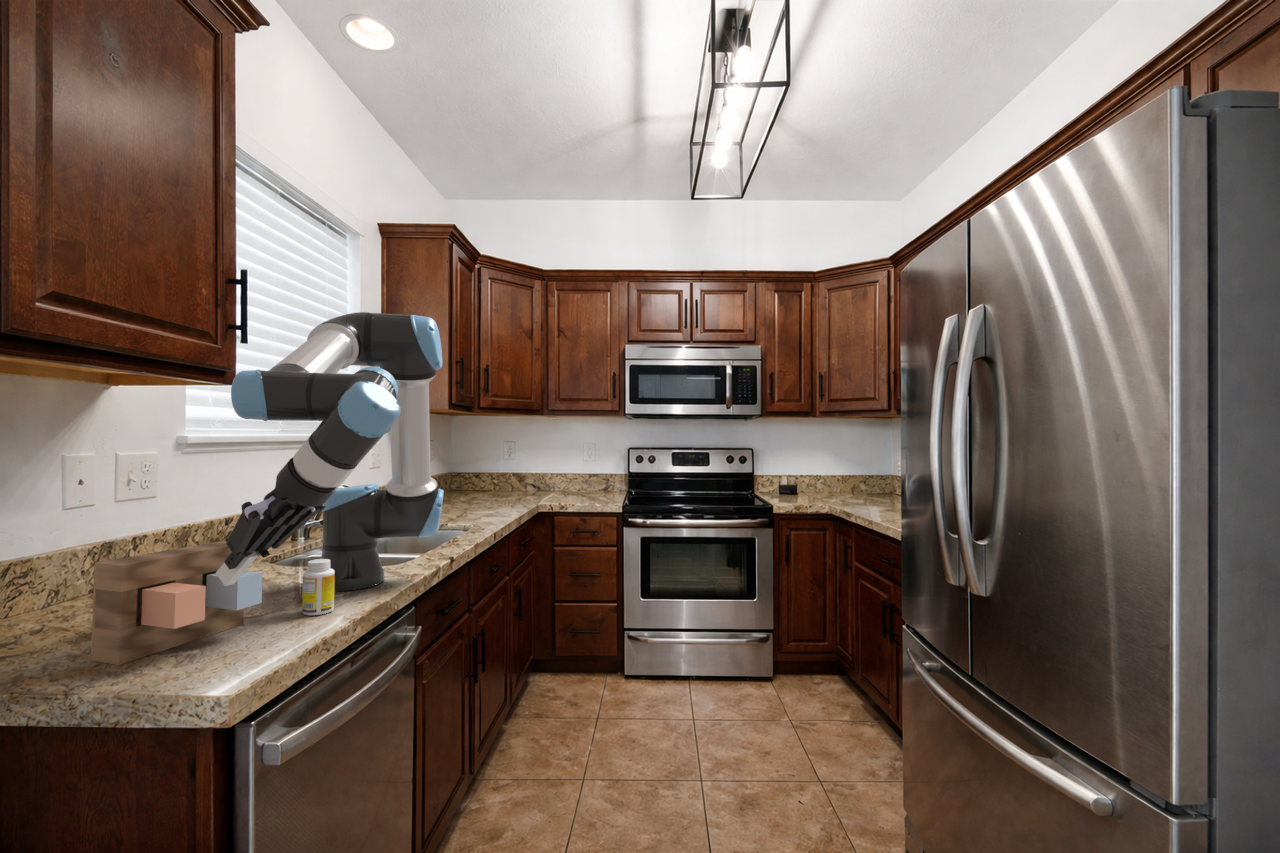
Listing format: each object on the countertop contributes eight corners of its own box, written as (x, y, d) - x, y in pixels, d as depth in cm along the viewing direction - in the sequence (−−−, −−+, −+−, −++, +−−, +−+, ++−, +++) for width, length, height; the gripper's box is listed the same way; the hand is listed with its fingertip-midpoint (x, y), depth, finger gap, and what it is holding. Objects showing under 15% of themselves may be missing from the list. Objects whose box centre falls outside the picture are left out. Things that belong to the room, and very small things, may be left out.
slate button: (231, 599, 102) (232, 569, 103) (261, 602, 101) (262, 572, 101) (205, 606, 98) (206, 575, 98) (236, 610, 96) (237, 578, 96)
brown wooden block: (218, 621, 107) (221, 541, 107) (243, 624, 105) (245, 543, 105) (91, 660, 87) (94, 562, 88) (118, 665, 86) (122, 565, 86)
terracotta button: (172, 615, 93) (173, 582, 93) (204, 619, 91) (205, 586, 91) (141, 624, 88) (142, 589, 89) (174, 629, 86) (175, 593, 87)
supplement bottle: (334, 606, 116) (335, 556, 117) (333, 614, 111) (334, 562, 112) (303, 610, 114) (304, 559, 114) (300, 618, 109) (301, 564, 109)
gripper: (336, 452, 90) (251, 552, 94) (262, 453, 77) (167, 568, 81) (363, 487, 88) (275, 587, 92) (292, 493, 76) (193, 609, 80)
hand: (225, 578), depth 87 cm, fingers closed
